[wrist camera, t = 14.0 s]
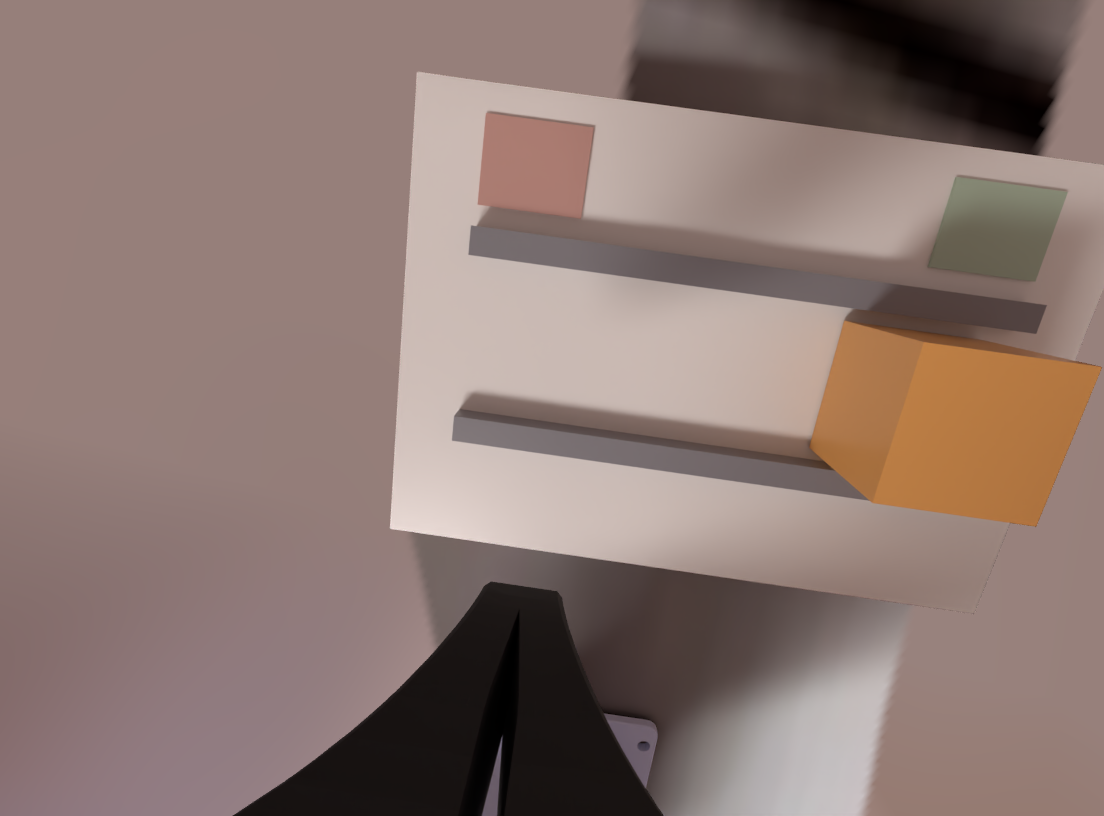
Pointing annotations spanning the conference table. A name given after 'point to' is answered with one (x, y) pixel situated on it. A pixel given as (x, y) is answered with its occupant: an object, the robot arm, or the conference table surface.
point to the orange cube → (949, 421)
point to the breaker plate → (702, 327)
